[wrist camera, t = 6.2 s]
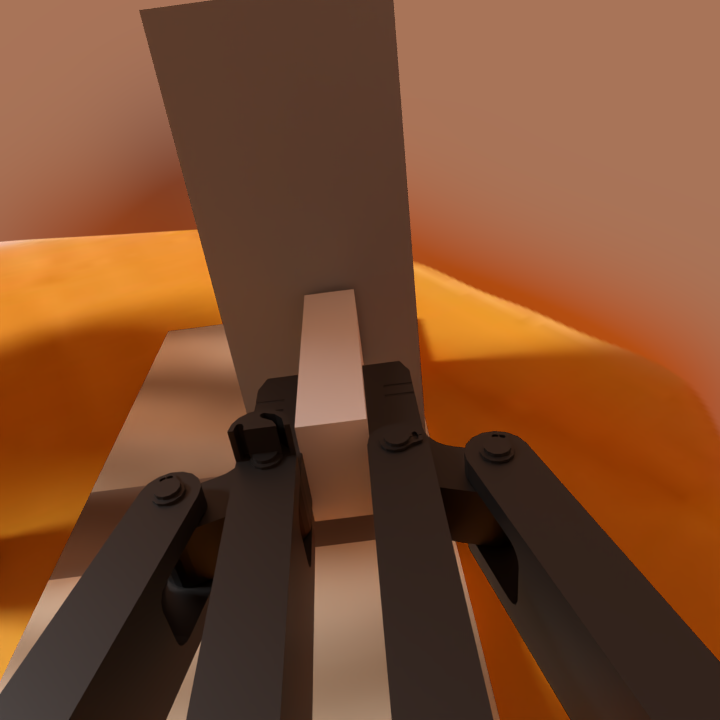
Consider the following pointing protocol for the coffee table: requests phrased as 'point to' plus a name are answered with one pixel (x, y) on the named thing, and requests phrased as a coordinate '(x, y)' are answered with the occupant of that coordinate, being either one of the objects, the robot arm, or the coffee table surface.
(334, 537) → the subfloor panel
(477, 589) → the coffee table surface
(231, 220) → the tall rectangular block
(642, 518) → the coffee table surface
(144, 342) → the coffee table surface
